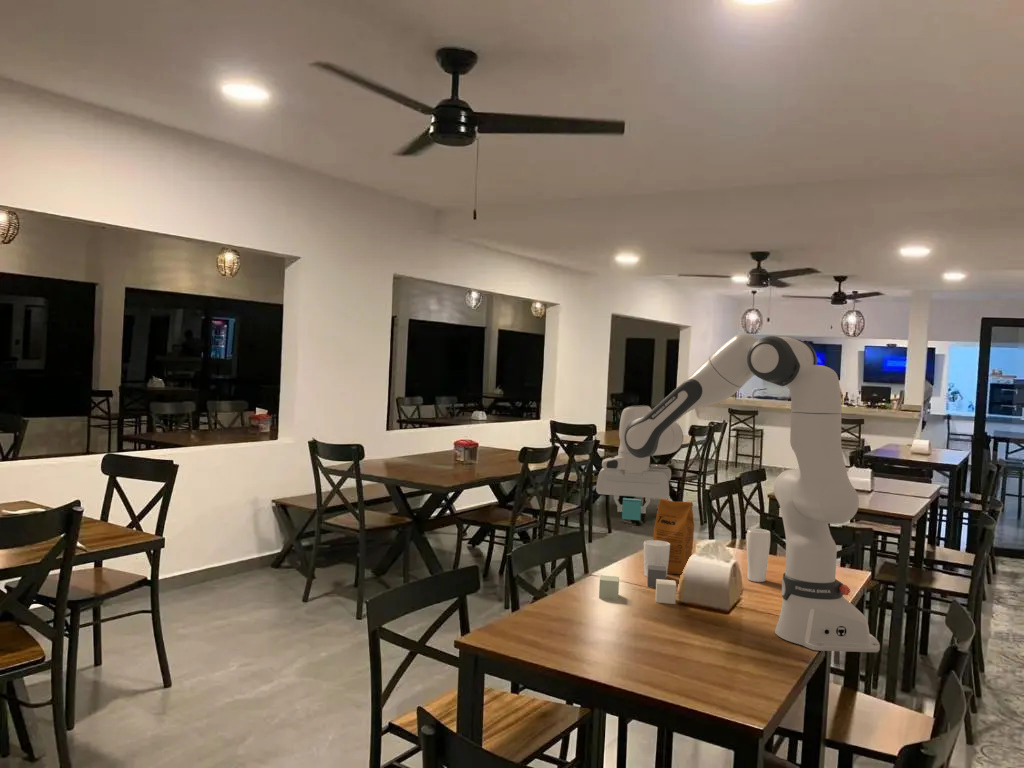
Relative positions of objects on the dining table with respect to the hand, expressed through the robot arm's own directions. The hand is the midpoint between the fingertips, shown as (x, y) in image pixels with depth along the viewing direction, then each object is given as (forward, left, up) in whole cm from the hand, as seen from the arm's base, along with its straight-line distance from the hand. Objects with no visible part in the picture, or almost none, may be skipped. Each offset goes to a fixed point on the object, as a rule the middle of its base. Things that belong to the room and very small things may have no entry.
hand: (631, 512), depth 213 cm
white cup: (-8, -17, -22) cm, 29 cm away
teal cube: (0, 0, -2) cm, 2 cm away
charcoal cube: (-8, -7, -22) cm, 24 cm away
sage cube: (+5, +9, -22) cm, 24 cm away
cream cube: (-10, +8, -22) cm, 25 cm away
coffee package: (-13, -26, -22) cm, 36 cm away
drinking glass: (-38, -22, -22) cm, 49 cm away
